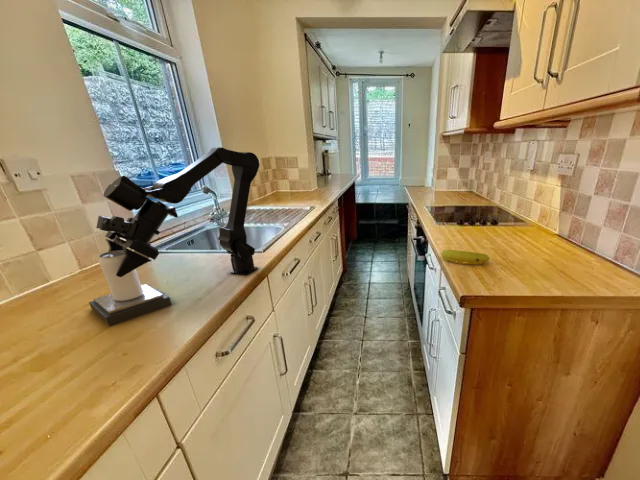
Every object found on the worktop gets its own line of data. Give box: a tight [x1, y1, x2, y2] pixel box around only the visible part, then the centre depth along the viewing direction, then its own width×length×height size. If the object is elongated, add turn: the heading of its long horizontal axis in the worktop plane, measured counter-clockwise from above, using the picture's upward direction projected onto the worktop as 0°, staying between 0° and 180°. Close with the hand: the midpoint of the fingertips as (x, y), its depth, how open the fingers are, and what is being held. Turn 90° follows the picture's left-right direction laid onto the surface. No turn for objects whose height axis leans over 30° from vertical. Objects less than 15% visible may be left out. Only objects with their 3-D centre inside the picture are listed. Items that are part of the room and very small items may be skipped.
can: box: [98, 250, 143, 301], centre depth 82 cm, size 6×6×12 cm
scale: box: [88, 284, 172, 327], centre depth 86 cm, size 14×14×2 cm
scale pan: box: [93, 283, 163, 314], centre depth 85 cm, size 12×12×1 cm
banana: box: [440, 248, 490, 265], centre depth 120 cm, size 5×17×15 cm
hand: (111, 272), depth 81 cm, fingers open, 9 cm apart
